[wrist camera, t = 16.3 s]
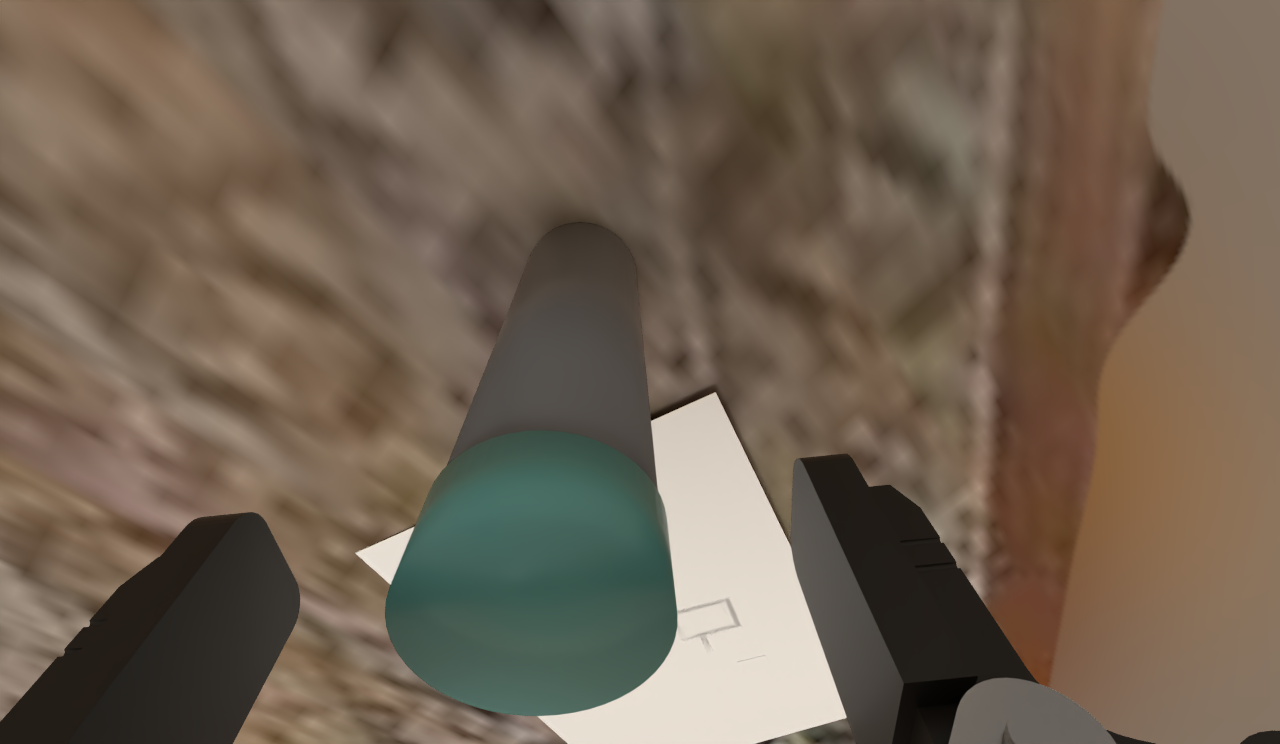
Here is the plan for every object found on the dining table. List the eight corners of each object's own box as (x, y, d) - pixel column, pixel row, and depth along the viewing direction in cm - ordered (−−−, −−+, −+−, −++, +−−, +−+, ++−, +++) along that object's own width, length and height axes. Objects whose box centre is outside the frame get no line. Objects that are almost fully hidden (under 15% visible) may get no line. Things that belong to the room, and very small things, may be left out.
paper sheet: (873, 722, 33) (881, 743, 32) (407, 824, 38) (401, 844, 37) (757, 365, 22) (762, 381, 21) (126, 572, 27) (107, 591, 26)
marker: (514, 225, 19) (345, 532, 7) (633, 213, 19) (668, 501, 7) (534, 334, 21) (427, 726, 9) (644, 323, 21) (685, 703, 9)
